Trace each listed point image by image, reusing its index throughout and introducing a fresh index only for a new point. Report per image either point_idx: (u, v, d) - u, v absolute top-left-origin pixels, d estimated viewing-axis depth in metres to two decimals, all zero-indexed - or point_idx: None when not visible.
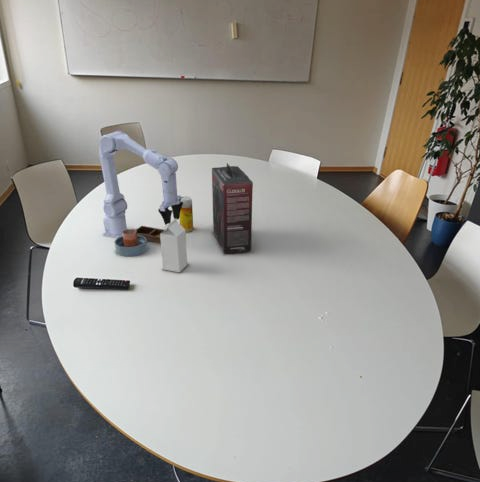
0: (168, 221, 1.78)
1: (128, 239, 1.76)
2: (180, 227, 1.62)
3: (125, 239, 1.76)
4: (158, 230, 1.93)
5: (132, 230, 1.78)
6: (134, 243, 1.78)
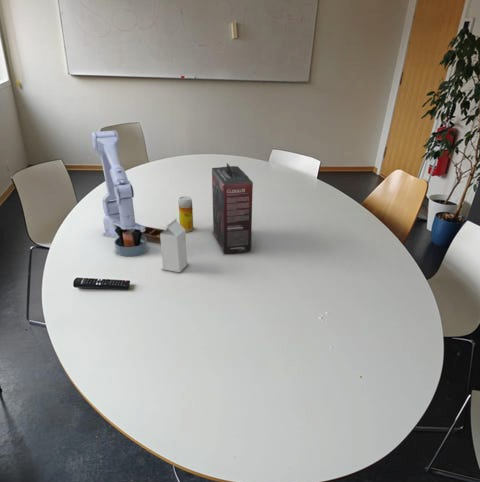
0: None
1: (128, 239, 1.76)
2: (180, 227, 1.62)
3: (125, 239, 1.76)
4: (158, 230, 1.93)
5: (132, 230, 1.78)
6: (134, 243, 1.78)
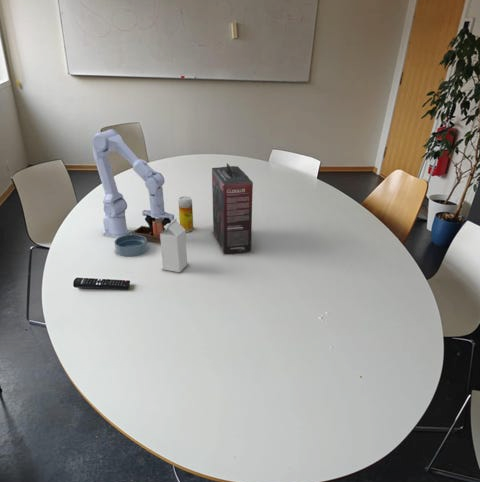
0: None
1: (157, 227, 1.84)
2: (180, 227, 1.62)
3: (155, 227, 1.85)
4: None
5: (161, 219, 1.87)
6: None
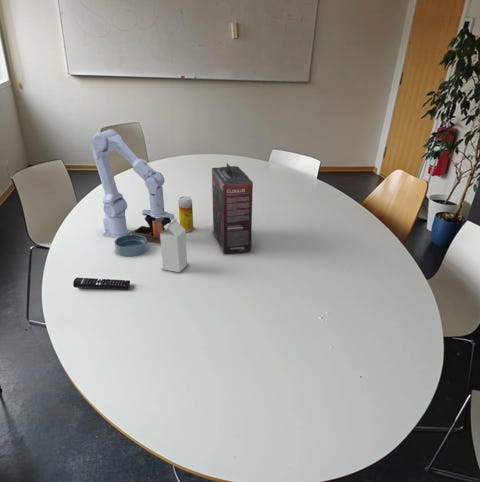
0: None
1: (157, 227, 1.84)
2: (180, 227, 1.62)
3: (154, 227, 1.85)
4: None
5: (161, 218, 1.87)
6: None
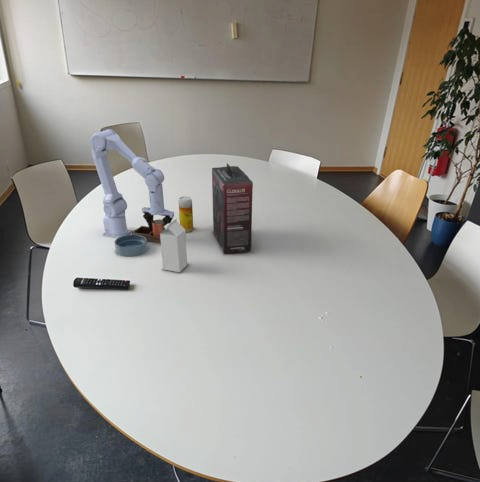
0: None
1: (157, 229, 1.85)
2: (180, 227, 1.62)
3: (155, 229, 1.85)
4: None
5: (161, 220, 1.87)
6: None
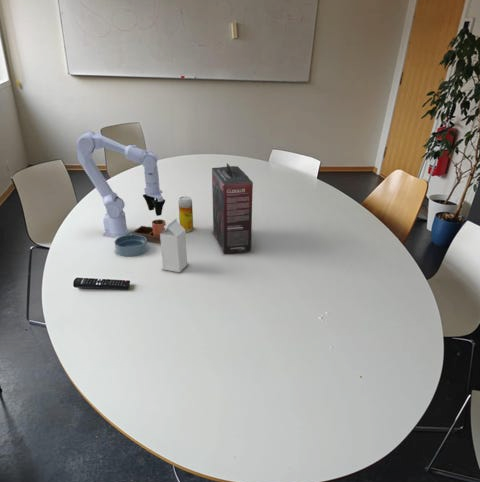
0: (160, 210, 1.88)
1: (157, 229, 1.85)
2: (180, 227, 1.62)
3: (155, 229, 1.85)
4: None
5: (161, 220, 1.87)
6: None
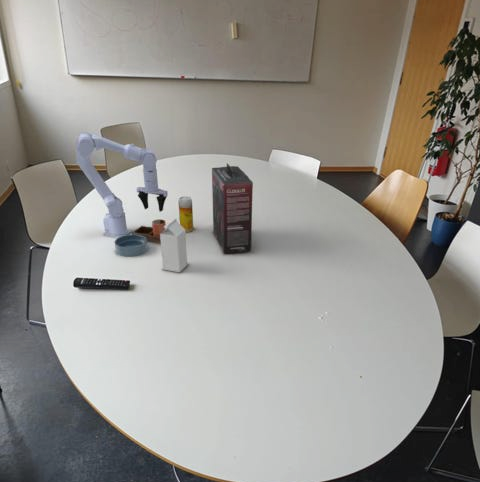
0: (162, 206, 1.93)
1: (157, 229, 1.85)
2: (180, 227, 1.62)
3: (155, 229, 1.85)
4: None
5: (161, 220, 1.87)
6: None
